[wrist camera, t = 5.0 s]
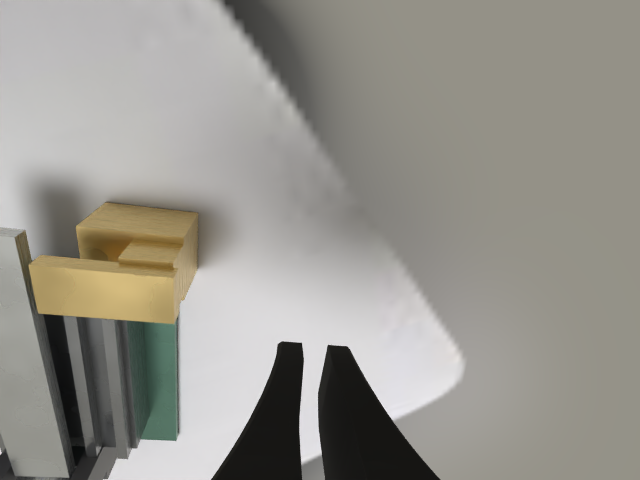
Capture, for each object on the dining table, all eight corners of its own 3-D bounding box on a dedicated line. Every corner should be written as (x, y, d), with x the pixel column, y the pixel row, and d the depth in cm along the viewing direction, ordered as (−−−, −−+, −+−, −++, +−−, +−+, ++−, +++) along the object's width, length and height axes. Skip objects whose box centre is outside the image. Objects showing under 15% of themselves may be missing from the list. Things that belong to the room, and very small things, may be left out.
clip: (93, 200, 17) (25, 251, 13) (202, 213, 18) (173, 265, 13) (99, 260, 18) (40, 324, 14) (201, 269, 19) (174, 334, 14)
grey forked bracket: (37, 404, 22) (-20, 482, 18) (121, 409, 23) (85, 485, 19) (44, 436, 23) (-7, 515, 19) (124, 440, 24) (90, 517, 20)
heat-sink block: (-73, 253, 18) (-140, 289, 15) (176, 276, 19) (157, 313, 16) (-17, 426, 22) (-59, 477, 20) (178, 434, 24) (163, 483, 21)
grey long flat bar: (-49, 219, 14) (-72, 232, 13) (28, 227, 14) (10, 240, 13) (29, 473, 20) (16, 493, 19) (80, 475, 20) (70, 495, 19)
